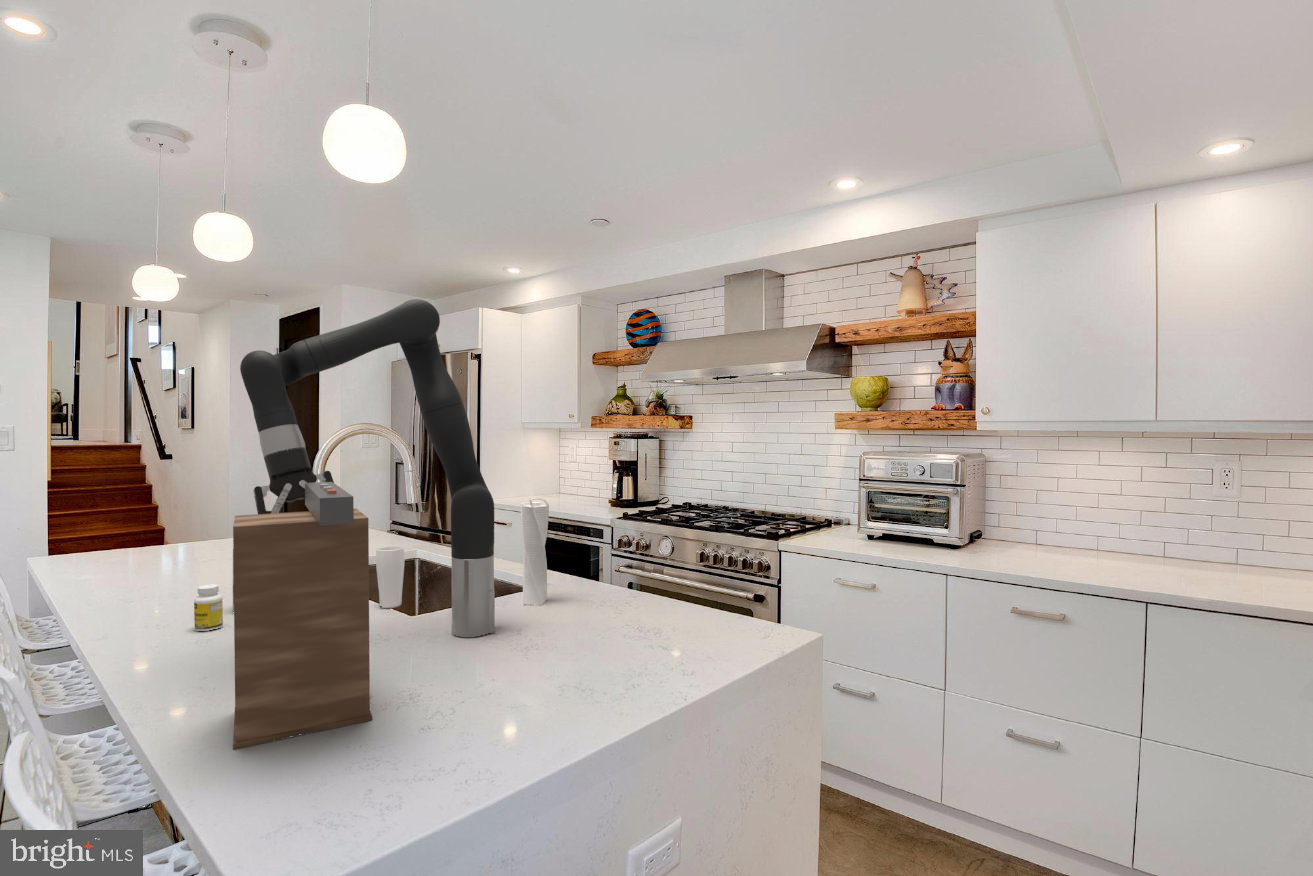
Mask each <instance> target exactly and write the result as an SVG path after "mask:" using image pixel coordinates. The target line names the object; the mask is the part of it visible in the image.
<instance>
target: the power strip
mask: <svg viewBox="0 0 1313 876" xmlns="http://www.w3.org/2000/svg"><path fill="white" fill-rule="evenodd" d="M304 506H305V507H306V508H307V509H308V511H310V512H311V514H312V515H313V517H314V518H315V519H316V521H317V522H318V524H319V525H320V526H323V525H338V524H352V523H354V509H355V508H354V496H353V495H352V494H350V493H349V492H348V491H346V490H345V489H343V488H342V487H340V486H339V485H337V484H336V483H335V482H334V483H333V482H320V481H318V482H317V481H316V483H305V499H304Z"/></svg>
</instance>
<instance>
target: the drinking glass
mask: <svg viewBox="0 0 1313 876" xmlns="http://www.w3.org/2000/svg"><path fill="white" fill-rule="evenodd" d="M375 550H376V551H375V563H376V564H375V566H376V567H375V568H376V578H377V587H378V597H379V599H378V601H379V602H378V603H379V607H380V606H383V608H382V609H393V608H398V607H400V606H402V603H403V598H402V596H403V585H404V584H403V583H404V573H405V547H404V546H401V545H391V546H390V545H386V546H382V547H378V548H376V549H375Z"/></svg>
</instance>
